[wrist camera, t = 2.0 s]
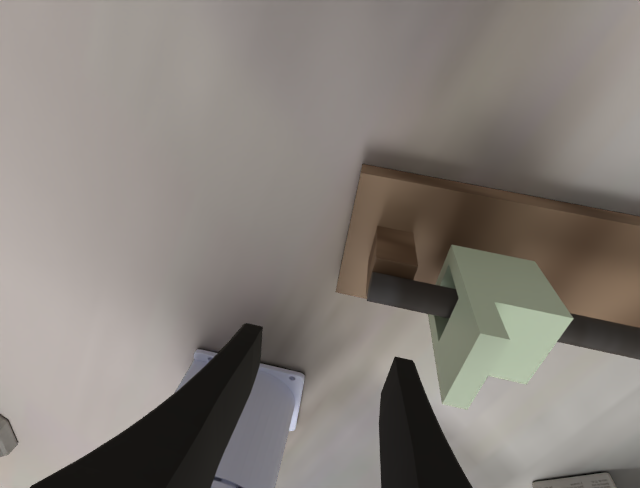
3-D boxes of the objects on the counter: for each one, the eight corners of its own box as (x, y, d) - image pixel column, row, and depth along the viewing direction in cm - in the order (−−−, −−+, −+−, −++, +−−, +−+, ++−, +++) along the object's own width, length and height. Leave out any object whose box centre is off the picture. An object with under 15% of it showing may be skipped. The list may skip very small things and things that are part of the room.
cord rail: (338, 278, 23) (321, 364, 17) (362, 163, 19) (351, 223, 13) (679, 350, 22) (796, 473, 16) (786, 244, 18) (1003, 354, 11)
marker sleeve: (426, 305, 19) (442, 404, 14) (451, 244, 17) (480, 333, 12) (500, 321, 19) (544, 427, 14) (534, 261, 17) (601, 359, 11)
